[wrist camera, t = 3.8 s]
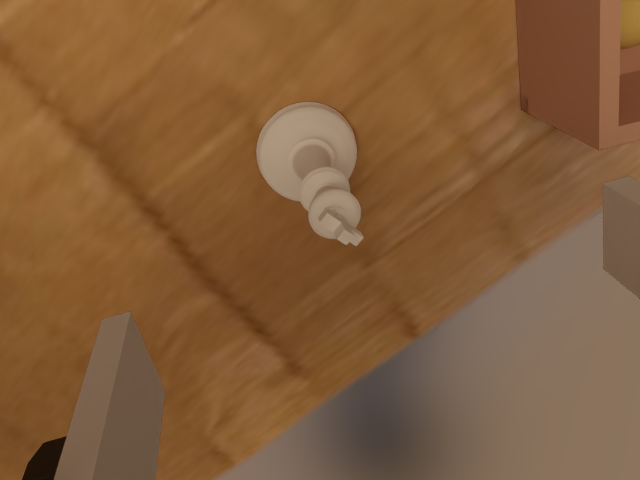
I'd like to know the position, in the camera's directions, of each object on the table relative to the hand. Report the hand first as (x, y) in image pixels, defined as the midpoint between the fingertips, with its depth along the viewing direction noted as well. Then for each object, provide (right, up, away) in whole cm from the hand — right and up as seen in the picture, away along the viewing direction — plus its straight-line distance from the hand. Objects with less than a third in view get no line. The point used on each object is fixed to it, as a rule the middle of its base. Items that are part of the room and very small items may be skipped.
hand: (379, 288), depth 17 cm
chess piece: (-2, +6, +14) cm, 15 cm away
